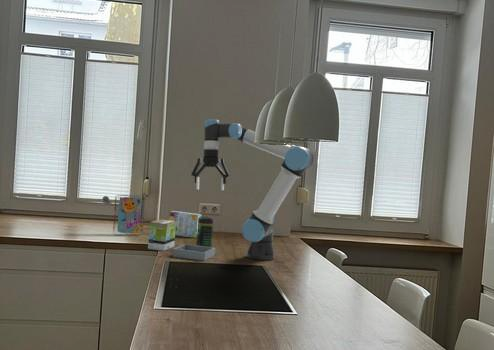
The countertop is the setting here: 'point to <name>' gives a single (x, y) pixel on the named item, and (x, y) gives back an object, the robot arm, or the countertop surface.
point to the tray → (194, 252)
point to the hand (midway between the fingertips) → (210, 189)
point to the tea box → (162, 234)
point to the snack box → (185, 223)
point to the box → (128, 213)
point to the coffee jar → (204, 231)
